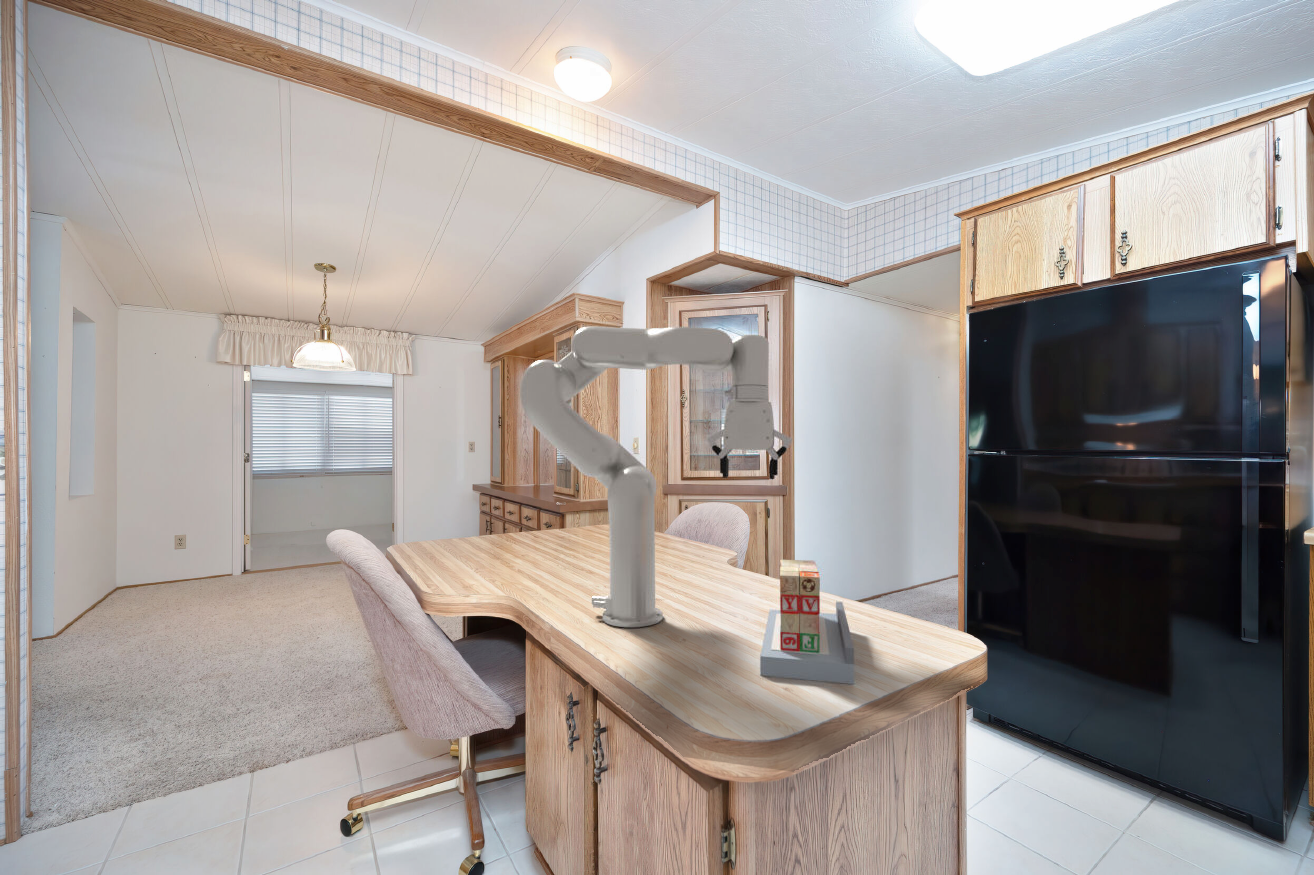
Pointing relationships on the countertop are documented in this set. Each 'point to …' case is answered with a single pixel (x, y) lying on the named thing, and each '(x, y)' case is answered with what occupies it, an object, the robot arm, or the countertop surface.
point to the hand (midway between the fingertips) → (748, 478)
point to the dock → (821, 666)
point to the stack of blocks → (799, 606)
